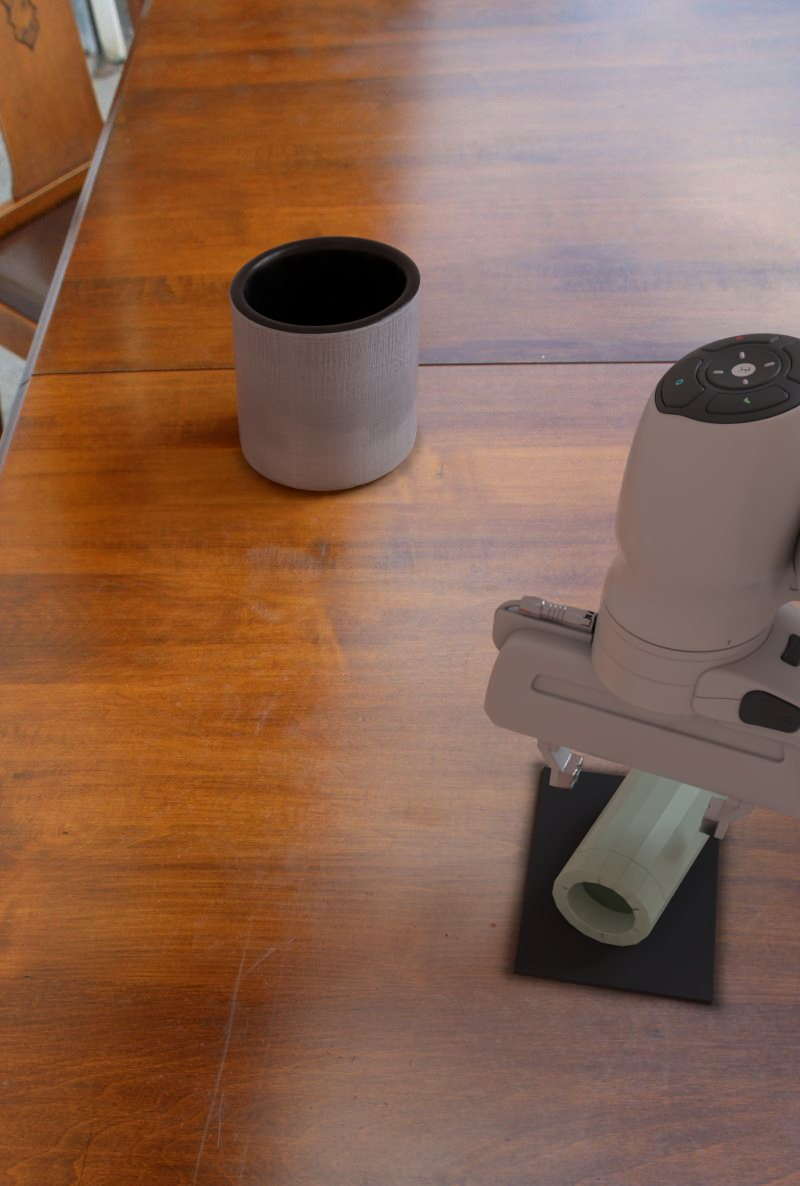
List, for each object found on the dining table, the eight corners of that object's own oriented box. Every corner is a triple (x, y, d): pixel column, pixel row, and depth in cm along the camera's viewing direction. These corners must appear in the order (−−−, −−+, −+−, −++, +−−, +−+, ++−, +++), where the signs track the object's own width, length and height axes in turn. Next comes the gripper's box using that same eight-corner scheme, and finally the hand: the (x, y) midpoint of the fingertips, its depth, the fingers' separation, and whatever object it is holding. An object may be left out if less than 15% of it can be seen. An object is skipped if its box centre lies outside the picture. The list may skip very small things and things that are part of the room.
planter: (309, 523, 115) (302, 356, 103) (207, 442, 124) (190, 279, 111) (453, 450, 119) (463, 282, 107) (345, 377, 128) (343, 213, 116)
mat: (543, 771, 95) (544, 766, 94) (719, 792, 92) (721, 787, 92) (512, 976, 85) (513, 970, 84) (710, 1007, 82) (712, 1001, 81)
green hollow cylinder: (754, 781, 85) (669, 920, 79) (699, 827, 91) (616, 959, 85) (673, 722, 86) (583, 855, 80) (623, 770, 91) (536, 898, 86)
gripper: (475, 623, 74) (461, 788, 85) (858, 729, 67) (789, 895, 78) (517, 555, 77) (498, 723, 88) (887, 650, 70) (817, 820, 81)
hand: (637, 804), depth 83 cm, fingers open, 8 cm apart
